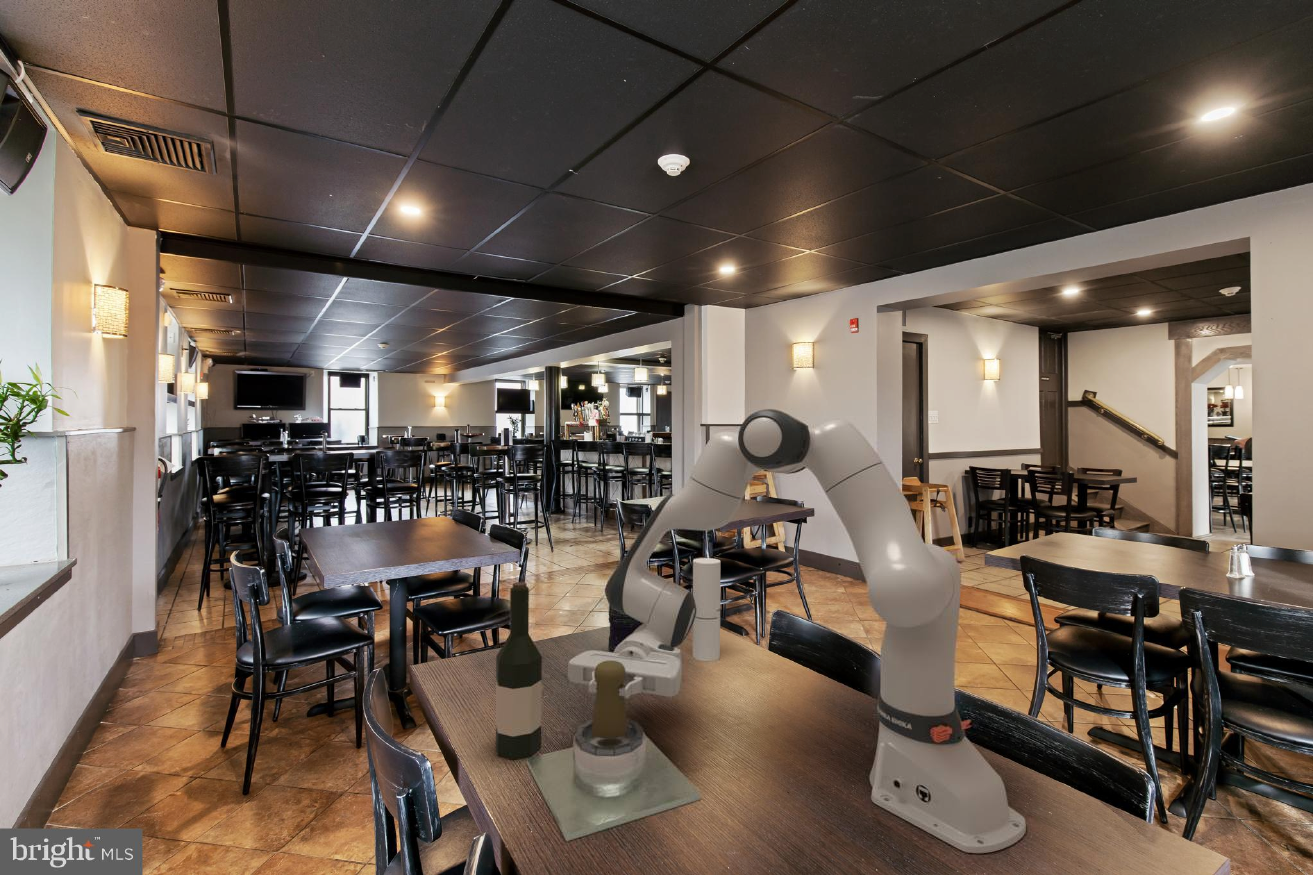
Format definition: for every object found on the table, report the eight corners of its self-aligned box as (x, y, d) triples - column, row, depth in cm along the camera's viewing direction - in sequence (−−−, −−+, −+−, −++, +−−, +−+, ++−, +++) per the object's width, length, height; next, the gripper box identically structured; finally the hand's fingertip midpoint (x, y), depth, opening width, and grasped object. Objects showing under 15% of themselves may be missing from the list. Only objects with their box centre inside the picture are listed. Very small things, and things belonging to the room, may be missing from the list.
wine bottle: (525, 731, 113) (527, 576, 113) (550, 748, 107) (551, 583, 108) (486, 747, 107) (487, 583, 108) (510, 765, 101) (511, 591, 102)
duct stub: (700, 799, 92) (701, 748, 92) (566, 841, 82) (566, 784, 82) (641, 735, 112) (641, 693, 112) (526, 763, 102) (527, 717, 102)
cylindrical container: (724, 654, 155) (725, 560, 155) (712, 663, 149) (712, 564, 149) (700, 649, 159) (701, 557, 159) (687, 657, 152) (688, 561, 153)
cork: (623, 740, 94) (624, 671, 94) (587, 737, 95) (587, 669, 95) (631, 721, 100) (631, 657, 100) (596, 719, 101) (596, 655, 101)
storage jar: (654, 657, 153) (654, 599, 153) (627, 668, 145) (628, 607, 145) (626, 648, 159) (627, 593, 159) (600, 658, 152) (600, 600, 152)
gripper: (586, 637, 113) (551, 663, 100) (689, 650, 106) (666, 679, 93) (586, 670, 113) (551, 700, 100) (688, 684, 106) (666, 719, 93)
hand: (607, 690), depth 96 cm, fingers closed on cork, 4 cm apart
